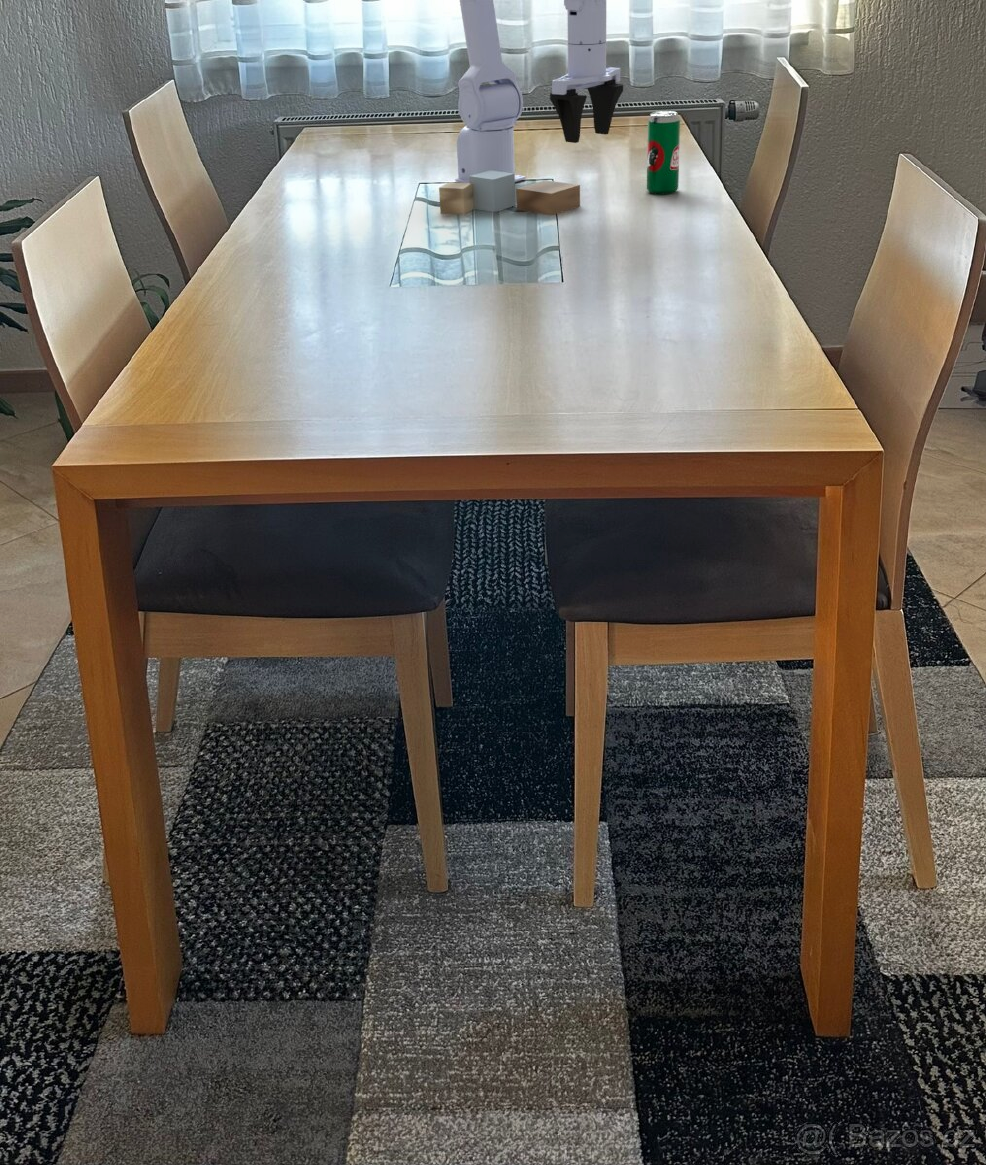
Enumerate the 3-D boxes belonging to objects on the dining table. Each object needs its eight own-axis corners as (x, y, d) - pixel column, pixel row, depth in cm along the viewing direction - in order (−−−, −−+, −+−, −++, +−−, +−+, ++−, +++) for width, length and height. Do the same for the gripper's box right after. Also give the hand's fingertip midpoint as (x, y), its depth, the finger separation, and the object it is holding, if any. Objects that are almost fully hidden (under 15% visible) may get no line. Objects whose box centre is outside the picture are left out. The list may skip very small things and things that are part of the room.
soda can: (677, 195, 204) (679, 115, 198) (645, 195, 205) (646, 116, 199) (679, 188, 208) (681, 110, 203) (648, 188, 209) (649, 110, 204)
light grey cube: (470, 208, 203) (469, 175, 200) (491, 202, 206) (490, 170, 203) (494, 212, 200) (493, 179, 197) (515, 206, 203) (514, 173, 200)
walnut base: (516, 211, 200) (516, 188, 199) (545, 202, 205) (544, 180, 203) (551, 216, 196) (551, 193, 195) (580, 207, 201) (579, 184, 199)
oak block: (440, 213, 200) (438, 187, 198) (450, 208, 203) (449, 182, 202) (464, 215, 199) (462, 188, 197) (474, 209, 202) (472, 183, 200)
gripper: (578, 49, 184) (579, 148, 191) (637, 37, 193) (635, 132, 200) (540, 47, 188) (542, 143, 195) (599, 35, 198) (599, 128, 204)
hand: (587, 137), depth 198 cm, fingers open, 7 cm apart
